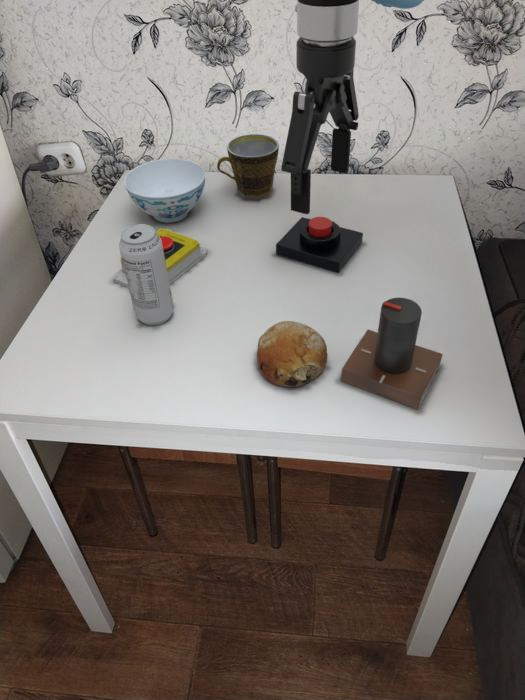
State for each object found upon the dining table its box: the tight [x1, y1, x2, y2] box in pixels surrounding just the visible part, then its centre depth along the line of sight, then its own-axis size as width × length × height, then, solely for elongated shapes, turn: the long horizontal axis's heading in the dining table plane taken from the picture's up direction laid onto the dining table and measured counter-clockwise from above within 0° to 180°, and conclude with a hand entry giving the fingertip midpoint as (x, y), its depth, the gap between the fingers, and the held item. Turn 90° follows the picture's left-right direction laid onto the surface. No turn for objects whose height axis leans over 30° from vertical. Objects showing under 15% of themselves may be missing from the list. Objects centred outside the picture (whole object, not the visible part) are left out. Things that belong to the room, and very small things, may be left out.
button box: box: [275, 216, 364, 274], centre depth 103 cm, size 12×10×4 cm
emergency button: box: [113, 228, 208, 289], centre depth 100 cm, size 9×4×15 cm
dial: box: [374, 297, 423, 374], centre depth 77 cm, size 5×5×9 cm
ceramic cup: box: [216, 133, 280, 201], centre depth 115 cm, size 13×10×10 cm
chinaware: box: [123, 158, 206, 223], centre depth 112 cm, size 15×15×8 cm
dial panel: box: [340, 329, 443, 411], centre depth 81 cm, size 11×9×3 cm
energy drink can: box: [118, 223, 175, 326], centre depth 87 cm, size 6×6×15 cm
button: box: [308, 216, 333, 237], centre depth 101 cm, size 4×4×2 cm
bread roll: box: [256, 320, 328, 388], centre depth 82 cm, size 10×10×8 cm
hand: (320, 190), depth 89 cm, fingers open, 13 cm apart
